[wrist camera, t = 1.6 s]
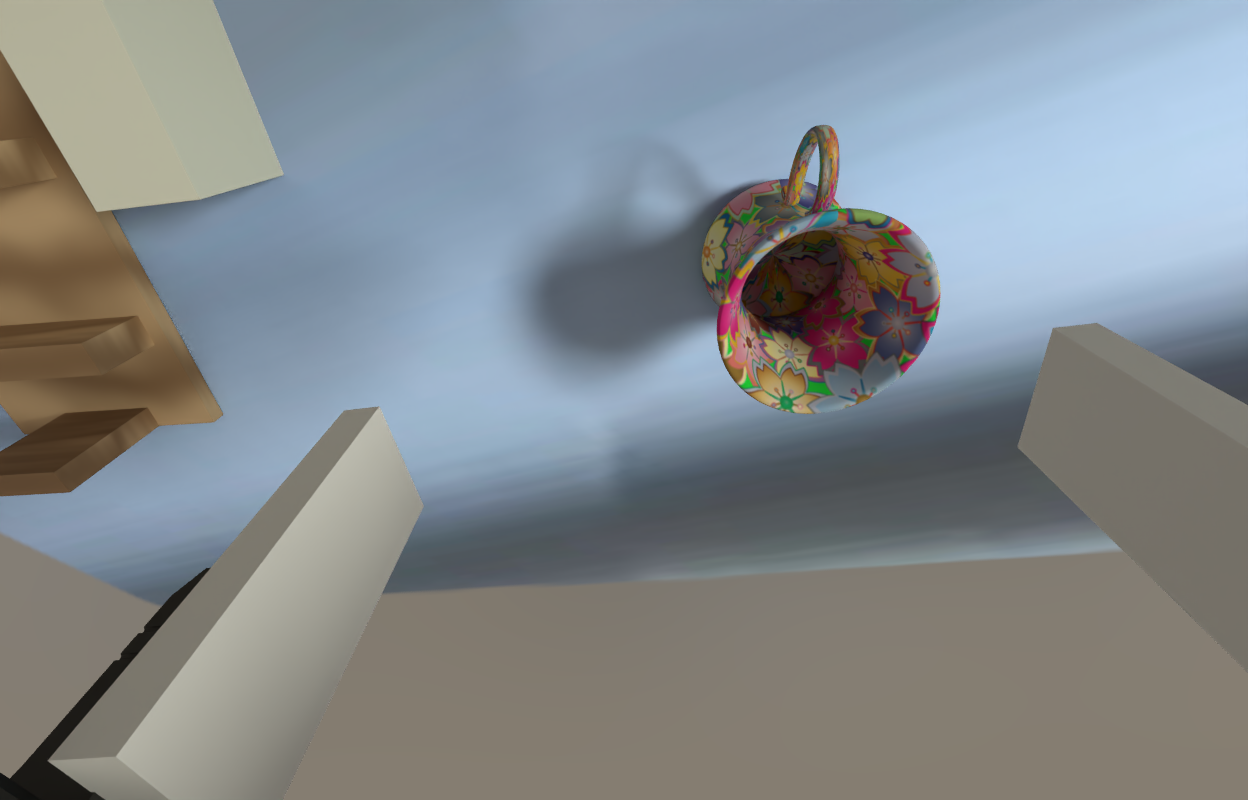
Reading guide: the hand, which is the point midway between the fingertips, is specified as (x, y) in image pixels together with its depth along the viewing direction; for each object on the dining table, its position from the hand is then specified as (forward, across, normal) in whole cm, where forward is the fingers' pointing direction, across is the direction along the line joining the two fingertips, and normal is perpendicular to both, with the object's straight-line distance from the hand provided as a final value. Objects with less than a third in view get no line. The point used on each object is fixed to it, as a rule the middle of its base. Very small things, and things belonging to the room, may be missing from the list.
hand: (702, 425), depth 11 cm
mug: (+23, +6, -3) cm, 24 cm away
